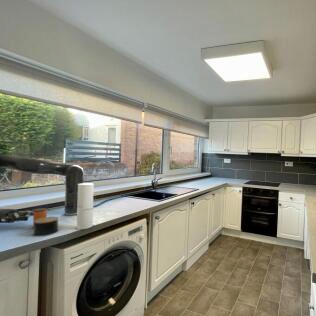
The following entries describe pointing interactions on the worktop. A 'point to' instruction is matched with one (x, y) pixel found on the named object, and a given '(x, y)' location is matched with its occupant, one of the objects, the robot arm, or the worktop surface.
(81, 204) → the cylindrical container
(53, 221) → the black canister
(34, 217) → the orange tin
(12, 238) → the worktop surface
